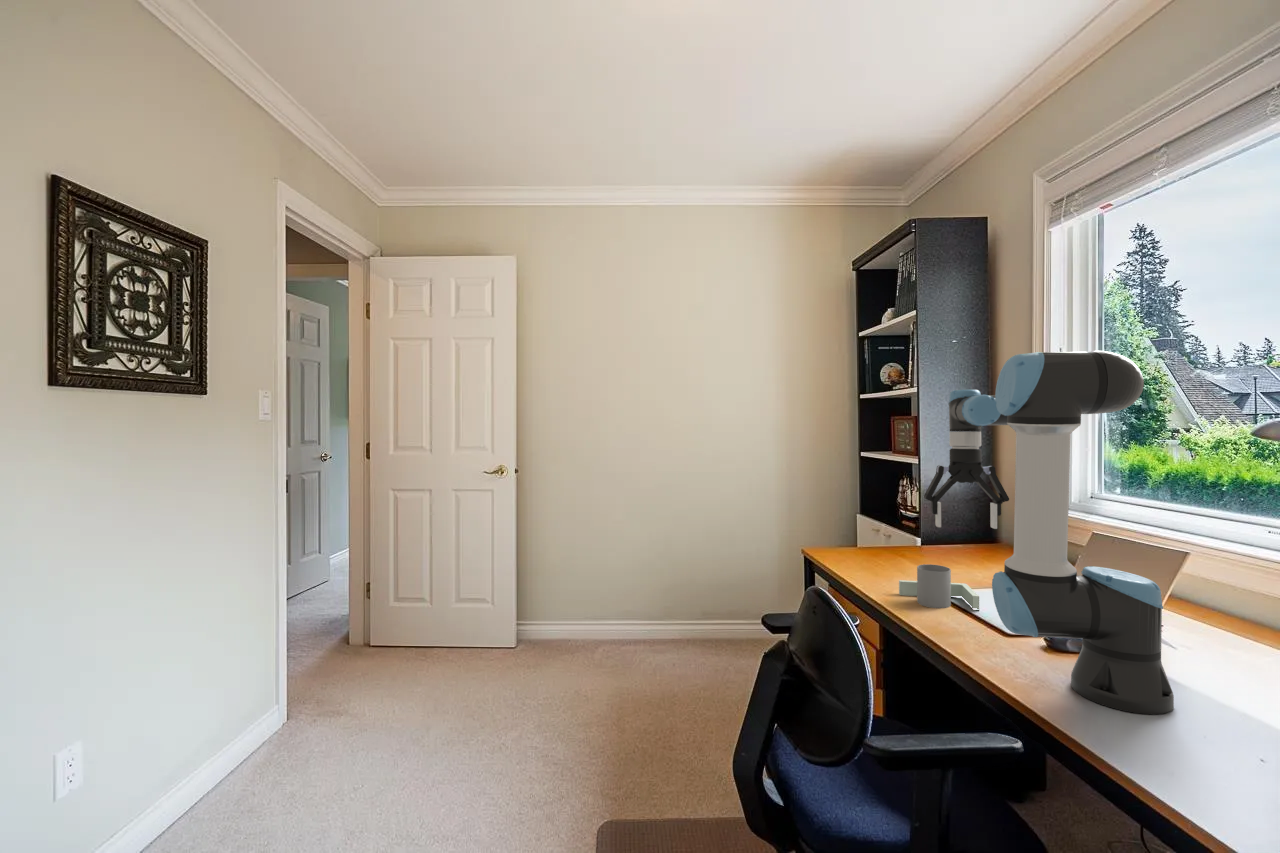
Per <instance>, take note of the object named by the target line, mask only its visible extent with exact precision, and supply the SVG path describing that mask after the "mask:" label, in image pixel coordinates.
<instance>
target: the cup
mask: <svg viewBox="0 0 1280 853" xmlns="http://www.w3.org/2000/svg"><path fill="white" fill-rule="evenodd" d="M916 568H917V569H916V571H917V572H916V574H917V576H916V577H917V578H916V581H917V596H916V598H917V600H916V602H917V604H919V605H921V606H922V607H923V606H924V607H927V608H930V609H931V608H932V609H947V608H950V607H951V606H952V598H951V583H952V581H951V580H952V578H951V577H952V575H951V574H952V573H951V572H952V570H951V568H950V567H948V566H944V565H939V564H931V563H930V564H929V563H928V564H925V563H923V564H919V565H917V567H916Z"/></svg>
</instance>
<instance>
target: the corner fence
mask: <svg viewBox="0 0 1280 853" xmlns="http://www.w3.org/2000/svg"><path fill="white" fill-rule="evenodd" d="M898 595H899V596H909V597H917V580H904V579H903V580H902V579H899V580H898ZM951 596H962V597H963V598H964V599H965V600H966V601H967V602H968V603H969V604H970V605H971V606H972V608H977V609H979V610H980V595H979V594H978V593H977V592H975V591H974V590H973V589H972V588H971V587H970V586H969V585H968V584H967V583H962V582H961V583H960V582H951Z"/></svg>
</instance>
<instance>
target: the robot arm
mask: <svg viewBox="0 0 1280 853" xmlns="http://www.w3.org/2000/svg"><path fill="white" fill-rule="evenodd" d="M1144 380H1145V379H1144V376H1143V373H1142V371H1141V369H1140V368H1139V367H1138V365H1136V363H1134V362H1133V361H1132V360H1131V359H1129V358H1127V357H1126V356H1124V355H1121V354H1118V353H1116V352H1112V351H1106V350H1091V351H1052V352H1051V351H1050V352H1049V351H1042V352H1040V351H1035V352H1027V353H1018V354H1014V355H1013V356H1011V357H1010V358H1008V360H1007V361H1005V363H1004V364H1003V366H1002V368H1001V370H1000V372H999V375H998V377H997V382H996V387H995V394H992V395H991V394H990V395H988V394H981V391H980V390H979V389H958V390H956V389H954V390H951V392H950V393H949V399H948V411H949V412H948V413H949V418H948V420H949V425H948V426H949V427H948V428H949V446H950V447H951V448H949V465H948V466H944V465H940V464H938V465H937V466H936V471H935V474H934V476H933V478H932V480H931V482H930V484H929V485H928V488H927V490H926V491H925V493H924V495H923V498H924V500H927V501H930V503H931V505H930V507H931V509H930V511H931V514H932V515H935V516H934V518H935V521H934V522H935V526H936V527H937V528H942V502H940V500H941V499H942V498H943V496H944V495H945V494H946V493H947V492H948V491H949V490H950V489H951V488H952V487H953V486H954V485H955V484H956V483H960V484H962V483H969V484H973V483H975V484H977V485H978V486H979V487H980V489H982V490H983V492H984V493H985V494H986V495H987V496H988V497H989V498H990V499H991V500H992V502H989V503H990V504H989V505H990V508H989V509H990V511H989V512H990V515H989V516H990V520H989V522H990V523H989V524H990V528H992V529H994V530H997V529H998V517H1000V516H1001V515H1002V505H1003V503H1005V502H1009V501H1010V498H1009V496H1008V493H1007V492H1006V491H1005V489H1004V486H1003V484H1002V483H1001V481H1000V478H999V477H998V476H997V474H996V473H997V472H996V467H995V466H993V465H988V466H983V464H982V449H980V447H981V446H982V427H987V426H1009V427H1010V428H1012V429H1013V431H1014V432H1015V464H1014V465H1015V466H1014V467H1015V470H1014V472H1015V473H1014V474H1015V477H1014V481H1015V482H1014V519H1013V520H1014V524H1013V528H1014V529H1013V554H1011V556H1009V557H1008V558H1006V559H1005V560H1004V565H1003V566H1004V567H1003V568H1004V571H998V572H995V573H994V574H993V576H992V580H991V589H992V596H993V601H994V605H995V609H996V612H997V614H998V616H999V618H1000V620H1001V622H1002V624H1003V625H1004V628H1006V629H1007V630H1008V631H1009V632H1011V633H1013V634H1014V635H1015V634H1016V635H1020V636H1030V637H1033V638H1038V637H1040V638H1041V637H1043V638H1058V639H1061V638H1062V639H1080V640H1081V644H1082V645H1081V649H1080V652H1079V654H1078V656H1077V659H1076V661H1075V662H1074V666H1073V668H1072V671H1071V674H1070V682H1071V683H1070V686H1071V688H1072V689H1073V691H1075V692H1076V693H1078V695H1080V696H1081V697H1083V698H1085V699H1087V700H1089V701H1092V702H1094V703H1096V704H1099V705H1102V706H1104V707H1108V708H1111V709H1115V710H1120V711H1123V712H1128V713H1135V714H1142V715H1143V714H1144V715H1162V714H1167V713H1170V712H1172V711H1173V709H1174V707H1175V705H1174V704H1175V703H1174V701H1175V700H1174V699H1175V698H1174V697H1175V696H1174V692H1173V690H1172V687H1171V685H1170V682H1169V679H1168V676H1167V673H1166V671H1165V668H1164V666H1163V663H1162V628H1163V627H1162V624H1163V622H1162V621H1163V620H1162V619H1163V618H1162V616H1163V609H1164V606H1163V599H1162V591H1161V587H1160V586H1159V585H1158V584H1157V583H1156V582H1155V581H1153V580H1152V579H1149V578H1147V577H1144V576H1142V575H1138V574H1135V573H1131V572H1127V571H1123V570H1120V569H1114V568H1109V567H1102V566H1093V565H1092V566H1083V568H1082V570H1081V575H1078V571H1077V570H1078V569H1077V568H1076V567H1075V566H1074V565H1073V564H1072V563H1071V562H1070V561H1069V560H1068V548H1069V547H1068V544H1069V541H1068V540H1069V506H1070V505H1069V504H1070V503H1069V501H1070V468H1071V467H1070V466H1071V465H1070V459H1071V434H1072V433H1073V432H1074V431H1075V430H1076V429H1077V428H1079V427H1080V426H1081V423H1082V415H1094V414H1095V415H1099V414H1107V413H1115V412H1119V411H1122V410H1124V409H1127V408H1128V407H1131V406H1132V405H1133V404H1134V403H1135V402H1136V401H1137V400H1138V399H1139V398H1140V396H1141V395H1142V393H1143V391H1144V390H1143V389H1144V385H1145V384H1144V383H1145V381H1144ZM947 472H948V473H949V474H950V476H949V477H948V479H947V480H946V481H945V482H944V484H942V486H941V487H940V488H938V486H939V483H940V482H941V480H942V478H943V476H944V475H945V474H946V473H947ZM983 472H984V473H985V475H987V476H988V478H989V480H990V481H991V483H992V486H993V487H994V489H995V490H996V492H997V494H998V495H997V494H996V493H995V492H994V491H993V490H992V489H991V487H990V486H989V485H988V484H987V483H986V482H985V480H984V479H983V478H982V477H981V475H982V474H983ZM937 488H938V490H937V491H936V489H937Z"/></svg>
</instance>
